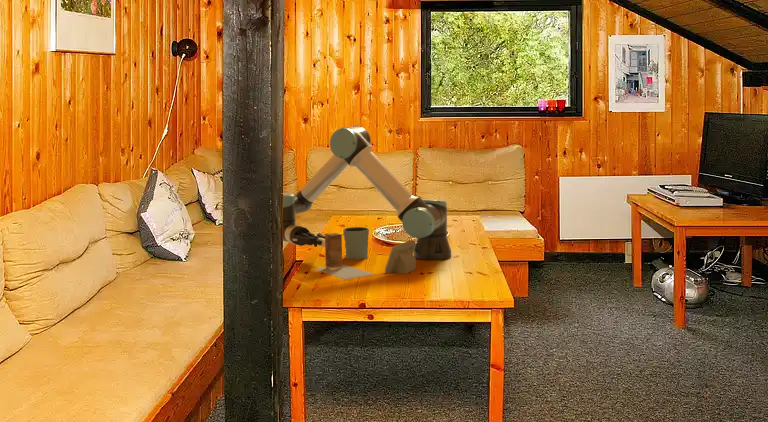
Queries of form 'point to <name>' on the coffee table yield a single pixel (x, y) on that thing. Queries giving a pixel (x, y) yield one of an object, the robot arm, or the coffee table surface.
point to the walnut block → (333, 251)
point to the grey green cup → (356, 242)
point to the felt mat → (345, 272)
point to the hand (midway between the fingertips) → (327, 243)
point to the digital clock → (401, 258)
